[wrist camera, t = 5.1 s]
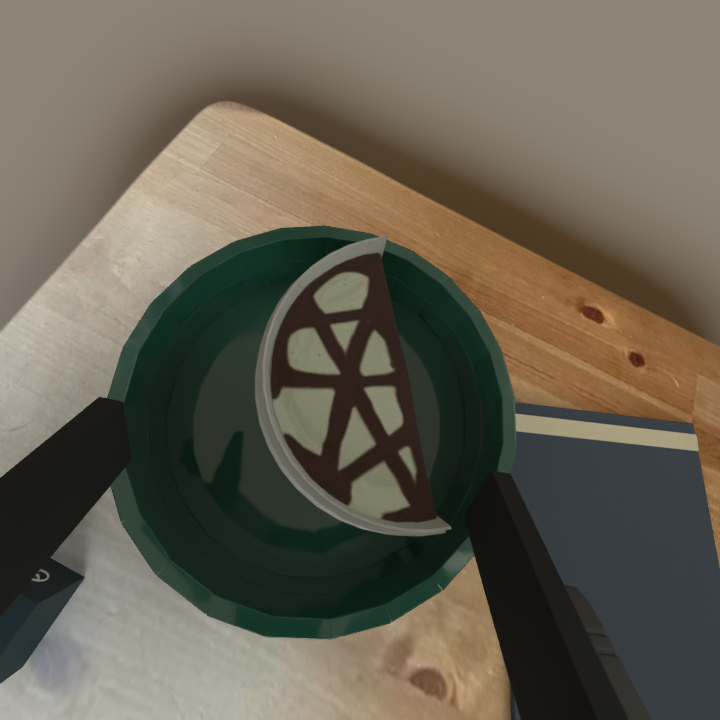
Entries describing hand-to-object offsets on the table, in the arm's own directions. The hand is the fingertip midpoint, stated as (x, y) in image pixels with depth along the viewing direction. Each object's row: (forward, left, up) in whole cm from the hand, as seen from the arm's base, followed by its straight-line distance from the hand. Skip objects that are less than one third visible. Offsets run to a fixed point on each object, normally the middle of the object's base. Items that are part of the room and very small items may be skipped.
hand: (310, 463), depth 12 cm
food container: (0, -3, -9) cm, 9 cm away
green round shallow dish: (0, -3, -9) cm, 10 cm away
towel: (-20, +5, -9) cm, 23 cm away
